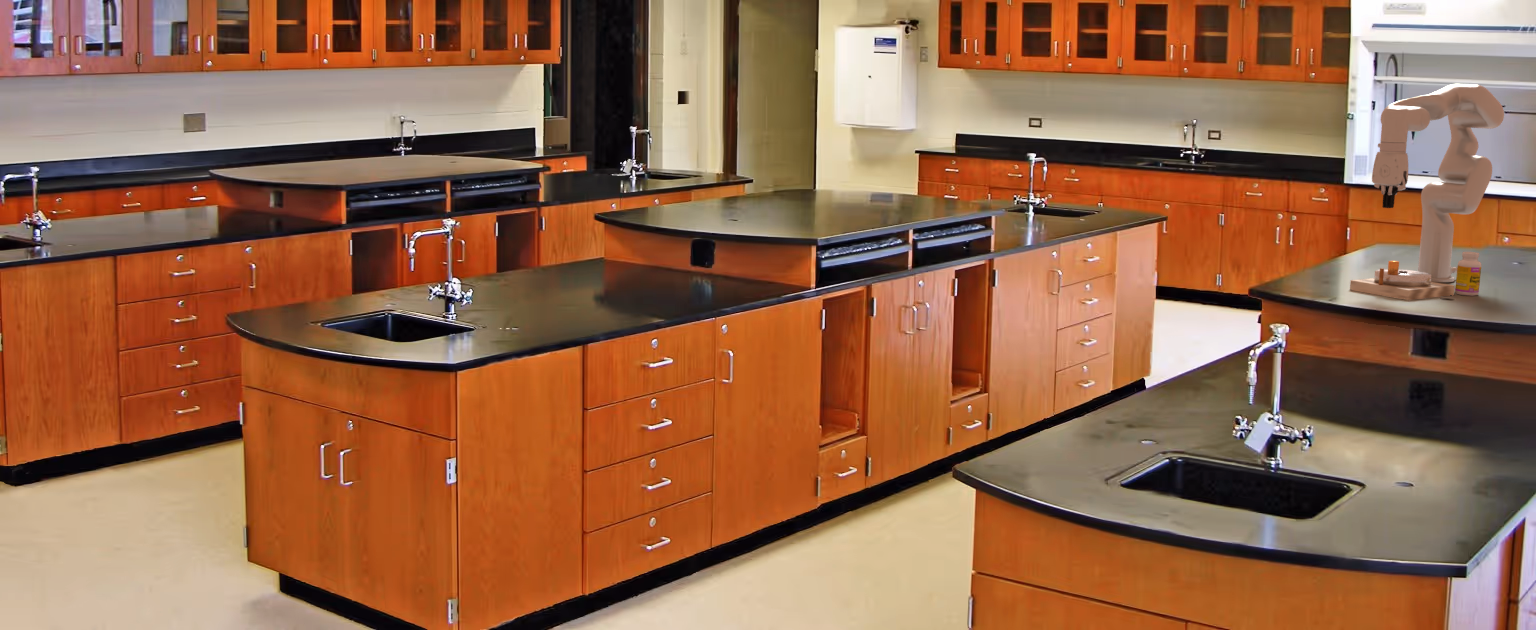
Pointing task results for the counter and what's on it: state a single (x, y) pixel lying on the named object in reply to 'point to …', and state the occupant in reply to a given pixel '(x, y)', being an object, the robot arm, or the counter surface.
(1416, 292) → the dial base
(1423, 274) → the dial
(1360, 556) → the counter surface
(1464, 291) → the supplement bottle
